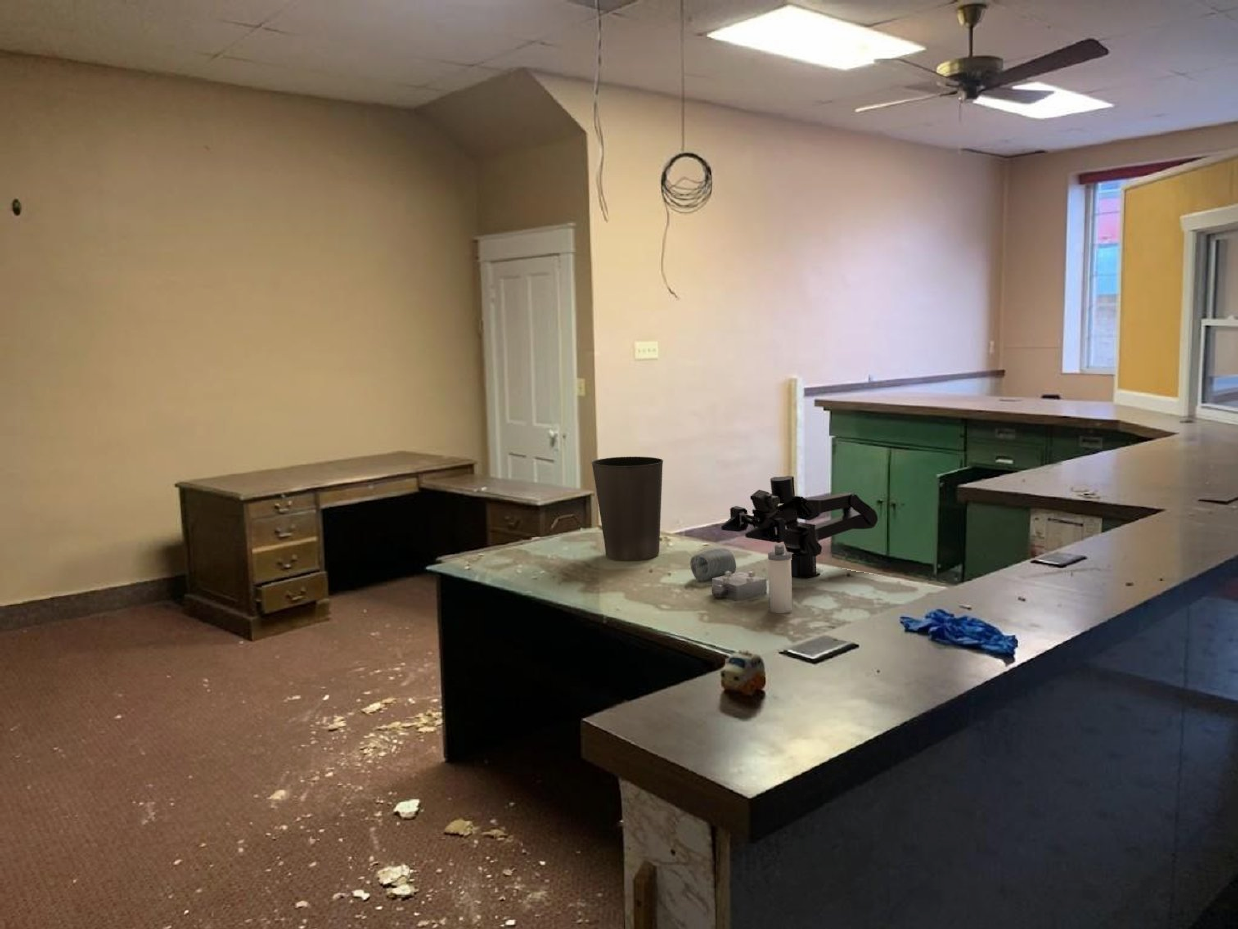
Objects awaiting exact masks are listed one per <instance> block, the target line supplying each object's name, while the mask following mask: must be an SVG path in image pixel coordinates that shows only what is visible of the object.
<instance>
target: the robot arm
mask: <svg viewBox="0 0 1238 929" xmlns="http://www.w3.org/2000/svg"><path fill="white" fill-rule="evenodd" d="M794 477H795V476H792V475H786V476H773V477H771V478H770V480H769V481H770V490H771V493H770V492H769V491H766V490H762V489H757V491H755V492H754V493H752V494H751V495H750V500H751V502H752V505H753V509H752V510H751V511H752V515H751V514H748V510H747V509H746V508H745V507H742V506H738V505H734V506H731V507H730V508H729V512H730V513H729V514H730V518H729V519H727V521H725V522H724V523H723V524H722V525H721V531H728V532H737V533H738V532H739V533H741V532H743V531H746V530H747V529H748V527H749V525H751V526H753V528H752V529H751V530H749V531H747V532H746V533H745V535H744V536H745V538H746V539H754V540H759V541H765V542H771V543H777V544H780V543H783V545H784V548H785V550H786V552H790V553H791V577H792V576H793V577H795V578H800V579H808V578H812V577H817V576H820V575H821V572H819V571H817V557H818V555H821V553H822V550H823V547H822V545H821V544H820V543H819V541H822V540H825V539H828V538H830V537H833V536H837V535H839V534H842V533H845V532H848V531H850V530H869V529H871V530H872V529H873V528H875V527H876V524H877V522H878V519H879V518H878V515H877V511H876V510H875V509H874V508H872V507H871V506H870V505H869V504H867V503H866V502H865V501H863V500H862V499H861V498H860V496H858V495H857V494H856V493H853V492H847V491H846V492H841V493H838V494H833V495H832V494H831V495H826V496H821V497H816V498H815V497H814V498H809V497H803V496H799V495H796V494H795V478H794ZM837 510H841V513H842V515H841V516H837V517H835V518H831V519H829V520H825V521H822V522H819V523H816V524H814V523H808V522H802V521H798V519H799V520H805V521H811V520H812V521H813V520H815V519H817V518H819V517H820V515H821V514H823V513H828V512H832V511H837Z"/></svg>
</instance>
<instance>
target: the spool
mask: <svg viewBox="0 0 1238 929" xmlns="http://www.w3.org/2000/svg"><path fill="white" fill-rule="evenodd" d="M690 569H691V573H692V574H693V576H694V578H695V579H696V580H697V581H698V582H701V583H702V582H706V581H710V580H712V578H716V577H721V576H725V572H727V571H730V572H732V574H734V573H736V569H737V561H736V558H735V556H734V554H733V552H732V551H731V550H730V549H727V548H722V547H720V548H712V549H708V550H704V551H702V552H699V553H695V554H694V555H693V556H692V557H691V558H690Z"/></svg>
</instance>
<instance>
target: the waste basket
mask: <svg viewBox="0 0 1238 929" xmlns="http://www.w3.org/2000/svg"><path fill="white" fill-rule="evenodd" d="M663 462H664V459H662V458H659V457H651V456H617V457H614V456H613V457H605V458H600V459H596V460H592V461H591V466H592V472H593V477H594V478H593V479H594V484H595V489H596V490H595V491H596V492H595V493H596V497H597V503H598V511H599V517H600V522H601V529H602V536H603V541H604V542H603V543H604V550H605V555H606V559H610V560H612V561H613V560H614V561H618V562H619V561H620V562H622V561H623V562H630V561H643V560H649V559H652V558H655V557H656V556H658V555H659V554H660V545H661V544H660V541H661V518H662V516H661V514H662V494H663V493H662V490H663V464H664V463H663Z"/></svg>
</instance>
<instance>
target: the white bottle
mask: <svg viewBox="0 0 1238 929" xmlns="http://www.w3.org/2000/svg"><path fill="white" fill-rule="evenodd" d="M767 560H768V592H769V593H768V594H769V611H770V612H771V613H775V614H787V613H791V612H793V590H792V589H793V586H792V584H793V582H792V581H793V580H792V575H791V560H792V553H791V552H787V551H785V544H775V545H774V551H771V552H768V553H767Z"/></svg>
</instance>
